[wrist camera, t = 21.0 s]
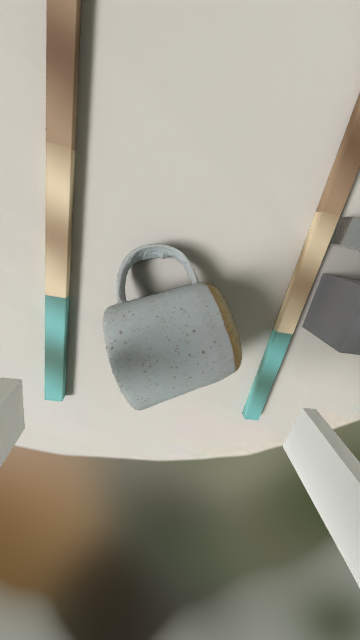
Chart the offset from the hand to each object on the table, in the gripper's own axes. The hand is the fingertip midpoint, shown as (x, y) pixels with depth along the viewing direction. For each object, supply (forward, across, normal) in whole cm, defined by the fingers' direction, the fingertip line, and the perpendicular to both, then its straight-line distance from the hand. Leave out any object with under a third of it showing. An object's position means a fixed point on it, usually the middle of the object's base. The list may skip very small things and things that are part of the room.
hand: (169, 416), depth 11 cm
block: (+8, +15, +7) cm, 19 cm away
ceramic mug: (+11, 0, +1) cm, 11 cm away
